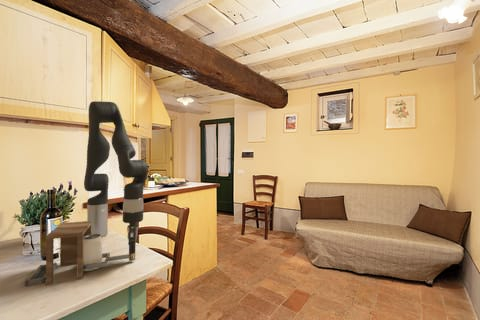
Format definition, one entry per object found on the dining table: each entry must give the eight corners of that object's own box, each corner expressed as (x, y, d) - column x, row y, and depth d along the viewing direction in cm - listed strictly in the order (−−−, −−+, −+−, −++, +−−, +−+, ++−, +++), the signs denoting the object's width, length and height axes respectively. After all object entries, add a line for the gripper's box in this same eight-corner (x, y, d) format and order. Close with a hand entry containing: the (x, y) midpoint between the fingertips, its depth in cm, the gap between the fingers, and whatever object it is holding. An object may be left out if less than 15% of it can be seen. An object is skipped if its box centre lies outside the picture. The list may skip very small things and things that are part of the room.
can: (94, 272, 83) (94, 239, 83) (77, 271, 84) (77, 239, 83) (105, 264, 90) (105, 233, 89) (89, 263, 90) (90, 233, 90)
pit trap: (40, 269, 85) (40, 265, 85) (56, 266, 87) (56, 262, 87) (24, 286, 74) (24, 281, 74) (44, 282, 76) (44, 278, 76)
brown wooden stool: (61, 264, 89) (61, 223, 89) (91, 260, 93) (91, 220, 93) (46, 284, 75) (46, 235, 74) (82, 278, 79) (82, 232, 78)
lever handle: (83, 261, 89) (83, 236, 89) (135, 254, 96) (135, 231, 96) (76, 273, 80) (76, 244, 80) (135, 263, 88) (135, 238, 88)
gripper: (124, 206, 96) (123, 246, 97) (121, 214, 84) (120, 260, 84) (143, 205, 99) (142, 244, 100) (143, 212, 87) (142, 257, 87)
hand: (132, 251), depth 92 cm, fingers closed on lever handle, 2 cm apart
